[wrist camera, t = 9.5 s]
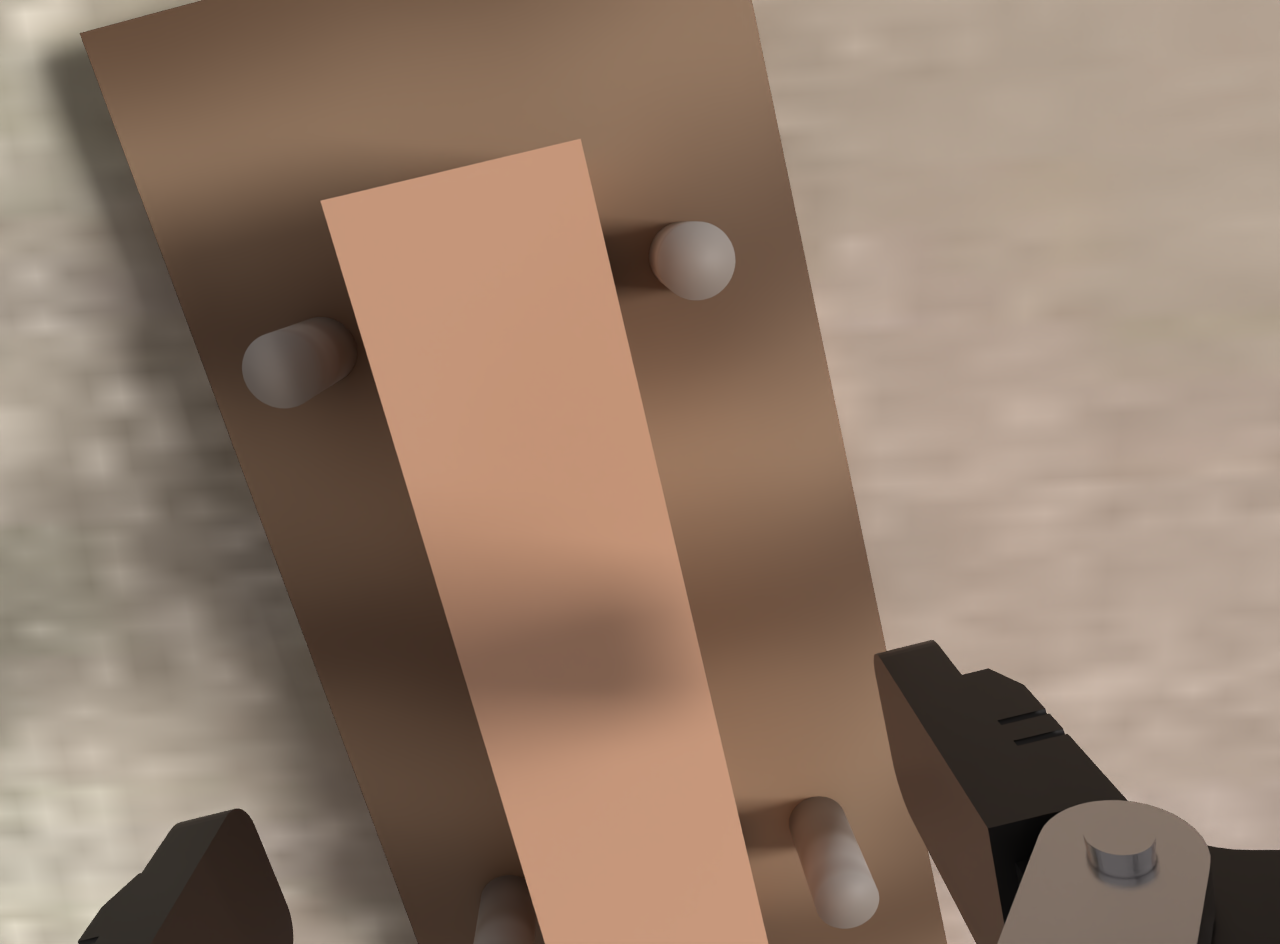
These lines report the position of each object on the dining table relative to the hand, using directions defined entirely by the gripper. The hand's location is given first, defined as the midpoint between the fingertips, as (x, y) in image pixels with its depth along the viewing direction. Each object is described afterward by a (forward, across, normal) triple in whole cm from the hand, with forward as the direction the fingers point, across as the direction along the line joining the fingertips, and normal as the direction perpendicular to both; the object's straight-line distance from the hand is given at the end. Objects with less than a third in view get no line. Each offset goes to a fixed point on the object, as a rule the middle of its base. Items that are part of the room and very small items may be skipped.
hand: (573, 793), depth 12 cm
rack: (+9, 0, 0) cm, 9 cm away
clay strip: (+7, 0, 0) cm, 7 cm away
